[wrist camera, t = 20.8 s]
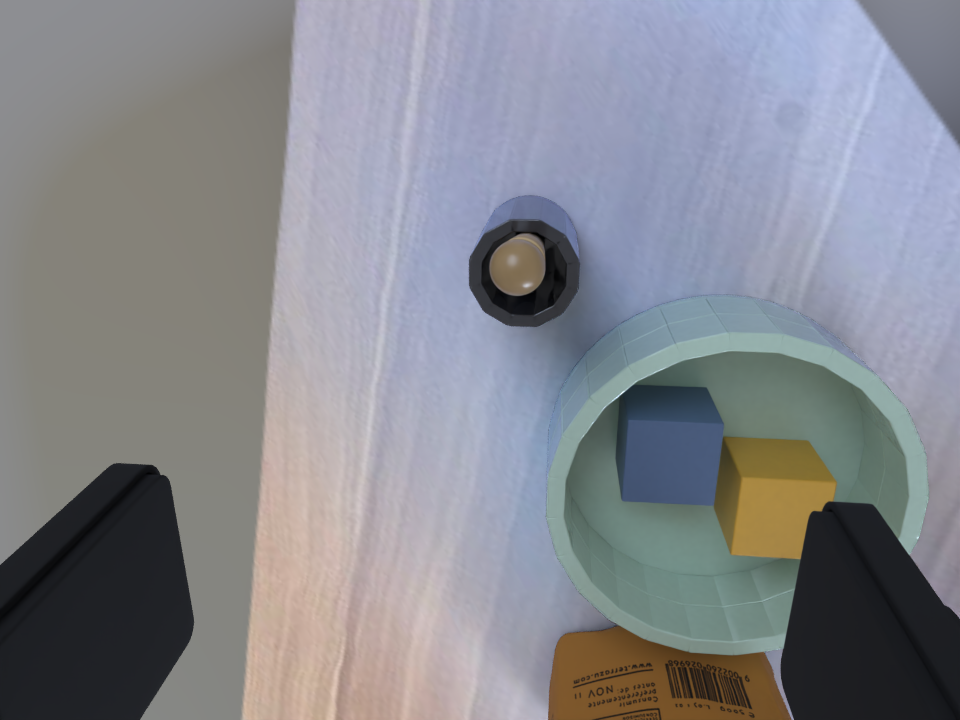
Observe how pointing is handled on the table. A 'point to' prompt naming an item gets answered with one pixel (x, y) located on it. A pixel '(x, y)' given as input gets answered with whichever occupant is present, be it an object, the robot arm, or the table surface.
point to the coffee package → (657, 681)
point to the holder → (559, 262)
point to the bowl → (695, 528)
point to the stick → (519, 264)
